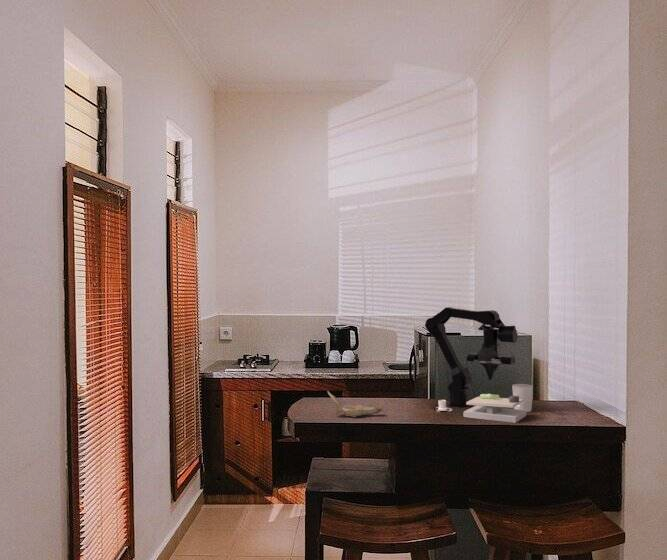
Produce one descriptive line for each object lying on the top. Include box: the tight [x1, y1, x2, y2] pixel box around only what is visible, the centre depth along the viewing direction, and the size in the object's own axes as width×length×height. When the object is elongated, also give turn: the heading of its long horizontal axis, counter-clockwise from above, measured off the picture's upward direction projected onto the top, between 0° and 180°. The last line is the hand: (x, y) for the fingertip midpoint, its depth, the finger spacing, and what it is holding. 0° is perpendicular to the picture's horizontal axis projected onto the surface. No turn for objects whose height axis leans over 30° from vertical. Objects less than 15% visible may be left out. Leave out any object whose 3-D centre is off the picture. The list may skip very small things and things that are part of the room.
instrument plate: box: [466, 393, 523, 409], centre depth 237 cm, size 18×13×3 cm
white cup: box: [511, 383, 534, 413], centre depth 247 cm, size 8×8×10 cm
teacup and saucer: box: [437, 399, 453, 412], centre depth 250 cm, size 9×8×4 cm
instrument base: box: [462, 405, 528, 424], centre depth 237 cm, size 20×14×4 cm
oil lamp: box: [327, 390, 383, 417], centre depth 241 cm, size 9×21×10 cm, turn 91°
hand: (490, 379), depth 251 cm, fingers closed
